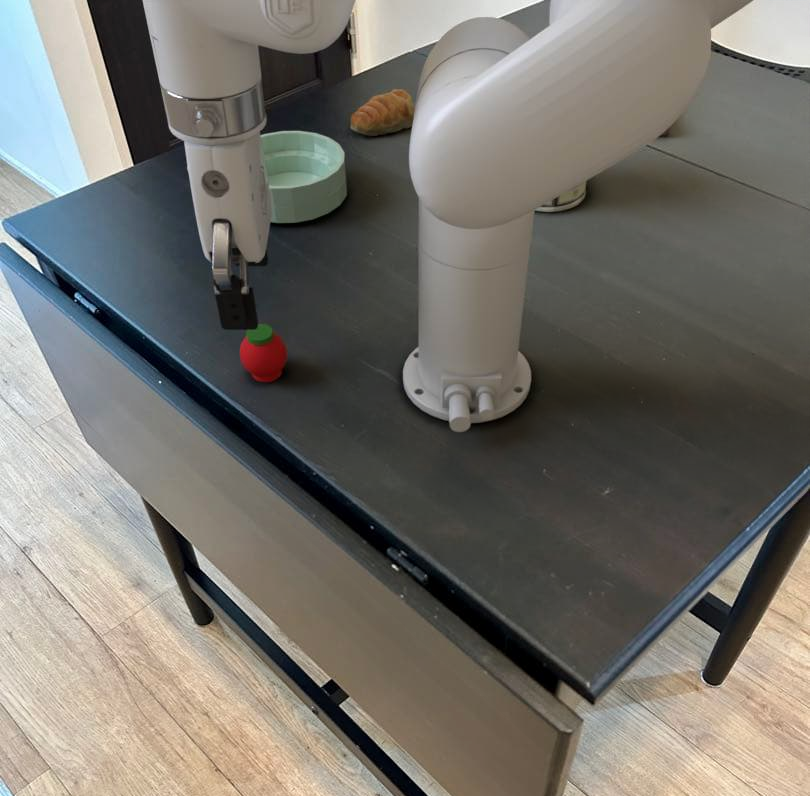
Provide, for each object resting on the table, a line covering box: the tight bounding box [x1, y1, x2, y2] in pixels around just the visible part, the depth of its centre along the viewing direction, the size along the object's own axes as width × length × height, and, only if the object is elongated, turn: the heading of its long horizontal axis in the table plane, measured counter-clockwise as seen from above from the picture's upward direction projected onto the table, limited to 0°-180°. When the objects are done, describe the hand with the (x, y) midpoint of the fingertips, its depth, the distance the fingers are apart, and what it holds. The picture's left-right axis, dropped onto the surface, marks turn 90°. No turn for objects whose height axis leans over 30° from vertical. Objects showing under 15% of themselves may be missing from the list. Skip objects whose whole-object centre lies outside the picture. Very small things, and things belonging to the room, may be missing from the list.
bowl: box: [260, 130, 348, 224], centre depth 103 cm, size 14×14×5 cm
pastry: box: [350, 88, 415, 137], centre depth 115 cm, size 9×7×4 cm
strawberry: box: [239, 323, 288, 383], centre depth 82 cm, size 5×5×5 cm
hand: (246, 294), depth 77 cm, fingers open, 9 cm apart
